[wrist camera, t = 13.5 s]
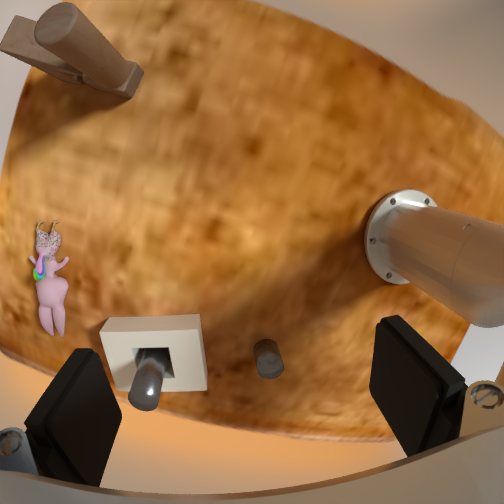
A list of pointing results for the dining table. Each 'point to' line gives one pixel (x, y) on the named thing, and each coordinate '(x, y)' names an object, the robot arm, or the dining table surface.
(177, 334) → the hole block
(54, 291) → the pink toy figurine
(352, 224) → the dining table surface
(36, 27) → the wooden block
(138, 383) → the long pin
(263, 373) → the short pin
